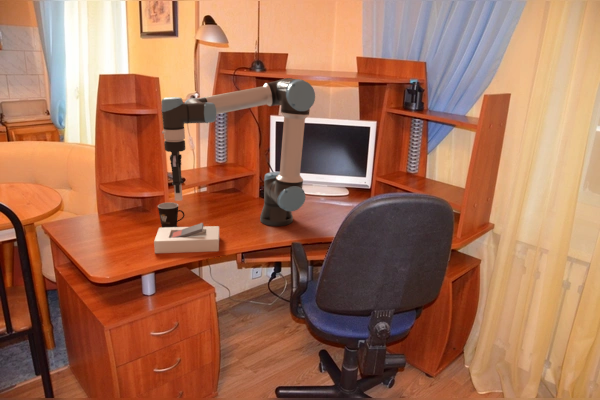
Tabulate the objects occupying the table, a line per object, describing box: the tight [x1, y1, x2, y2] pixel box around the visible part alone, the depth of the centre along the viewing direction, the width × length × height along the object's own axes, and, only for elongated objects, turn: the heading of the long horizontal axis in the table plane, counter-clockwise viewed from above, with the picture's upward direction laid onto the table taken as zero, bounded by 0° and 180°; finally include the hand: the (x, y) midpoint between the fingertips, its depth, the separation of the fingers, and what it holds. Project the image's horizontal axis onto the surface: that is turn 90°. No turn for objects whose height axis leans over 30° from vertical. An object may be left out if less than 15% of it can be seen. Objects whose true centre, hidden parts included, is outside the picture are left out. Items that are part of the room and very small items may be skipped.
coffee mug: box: [157, 201, 186, 228], centre depth 192 cm, size 12×9×10 cm
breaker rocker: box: [171, 222, 205, 238], centre depth 175 cm, size 13×7×1 cm, turn 98°
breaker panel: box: [153, 225, 220, 254], centre depth 176 cm, size 24×14×5 cm, turn 99°
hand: (178, 200), depth 172 cm, fingers closed
